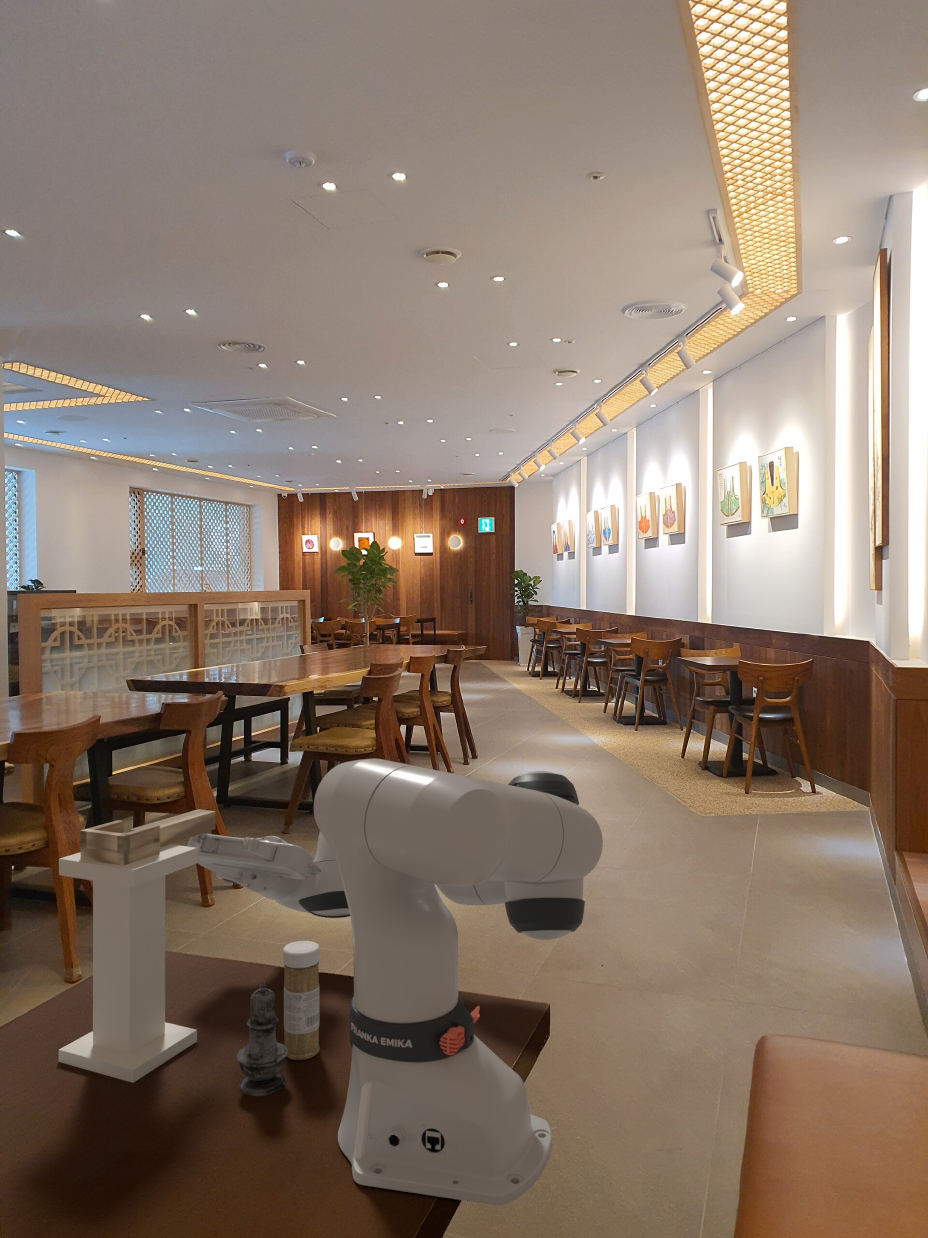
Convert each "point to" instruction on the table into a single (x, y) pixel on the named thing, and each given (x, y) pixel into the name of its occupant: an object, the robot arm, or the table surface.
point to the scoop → (141, 837)
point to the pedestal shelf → (128, 966)
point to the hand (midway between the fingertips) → (220, 839)
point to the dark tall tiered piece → (262, 1048)
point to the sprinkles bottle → (301, 999)
